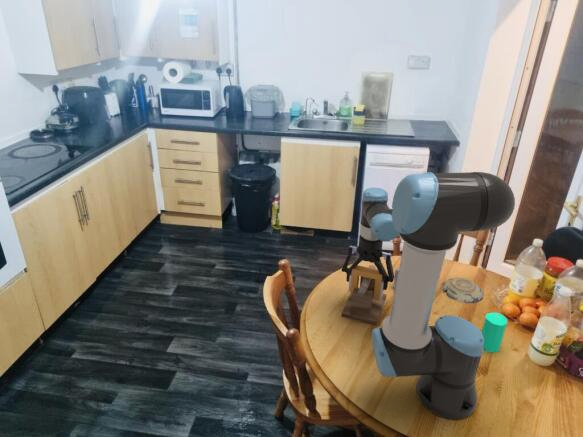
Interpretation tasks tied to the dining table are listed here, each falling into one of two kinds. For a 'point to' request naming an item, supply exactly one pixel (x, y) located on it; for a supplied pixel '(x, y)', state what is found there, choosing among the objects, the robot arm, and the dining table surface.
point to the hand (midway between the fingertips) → (365, 292)
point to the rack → (364, 303)
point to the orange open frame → (369, 274)
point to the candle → (493, 331)
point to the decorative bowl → (462, 290)
